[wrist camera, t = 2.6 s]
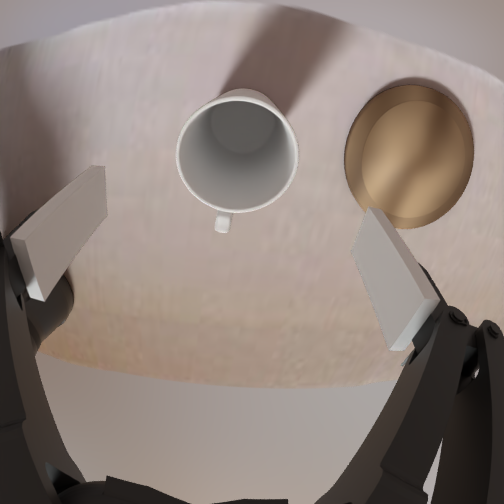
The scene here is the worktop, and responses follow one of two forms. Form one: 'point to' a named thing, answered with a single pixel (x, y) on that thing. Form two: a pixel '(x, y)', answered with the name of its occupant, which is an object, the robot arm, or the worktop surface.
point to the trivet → (409, 155)
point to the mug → (237, 154)
